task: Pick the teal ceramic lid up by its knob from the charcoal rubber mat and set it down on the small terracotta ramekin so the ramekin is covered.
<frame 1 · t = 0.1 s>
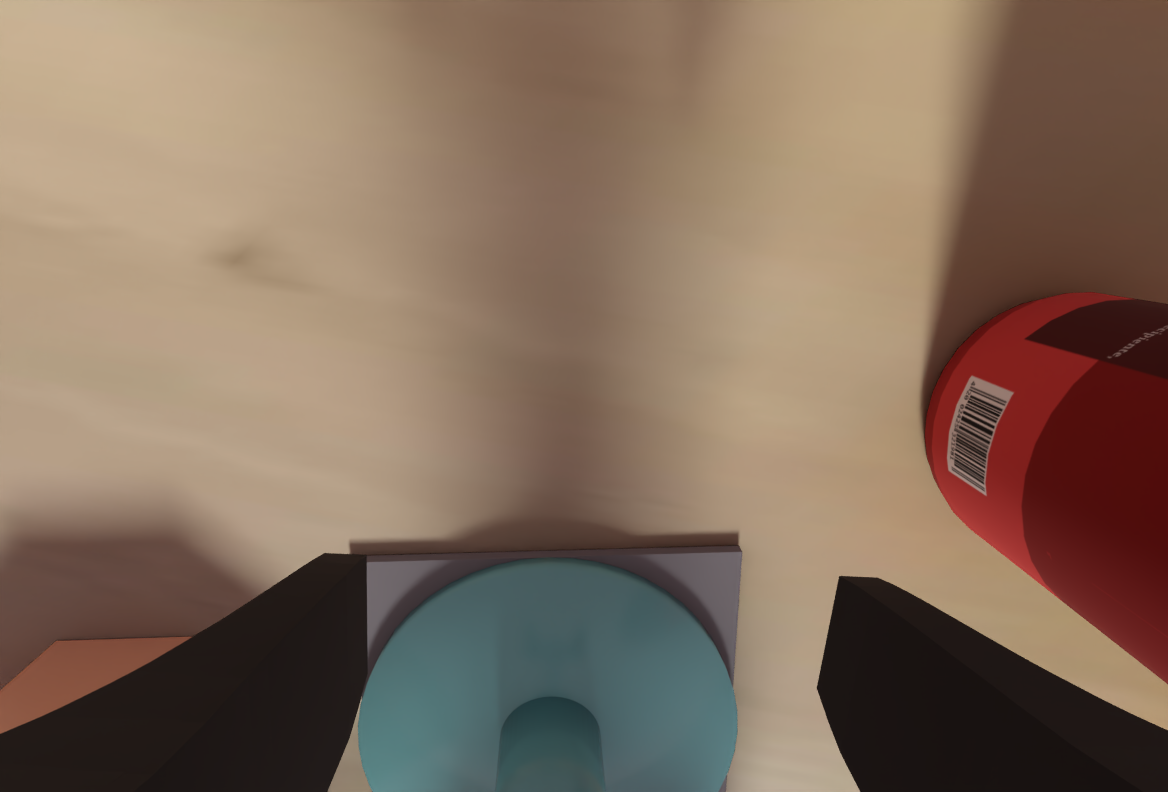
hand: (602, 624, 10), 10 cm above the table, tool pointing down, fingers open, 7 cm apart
lid: (550, 720, 22), resting on mat
ramekin: (160, 777, 23), on the table
mat: (550, 712, 23), on the table
canned food: (1034, 416, 21), on the table
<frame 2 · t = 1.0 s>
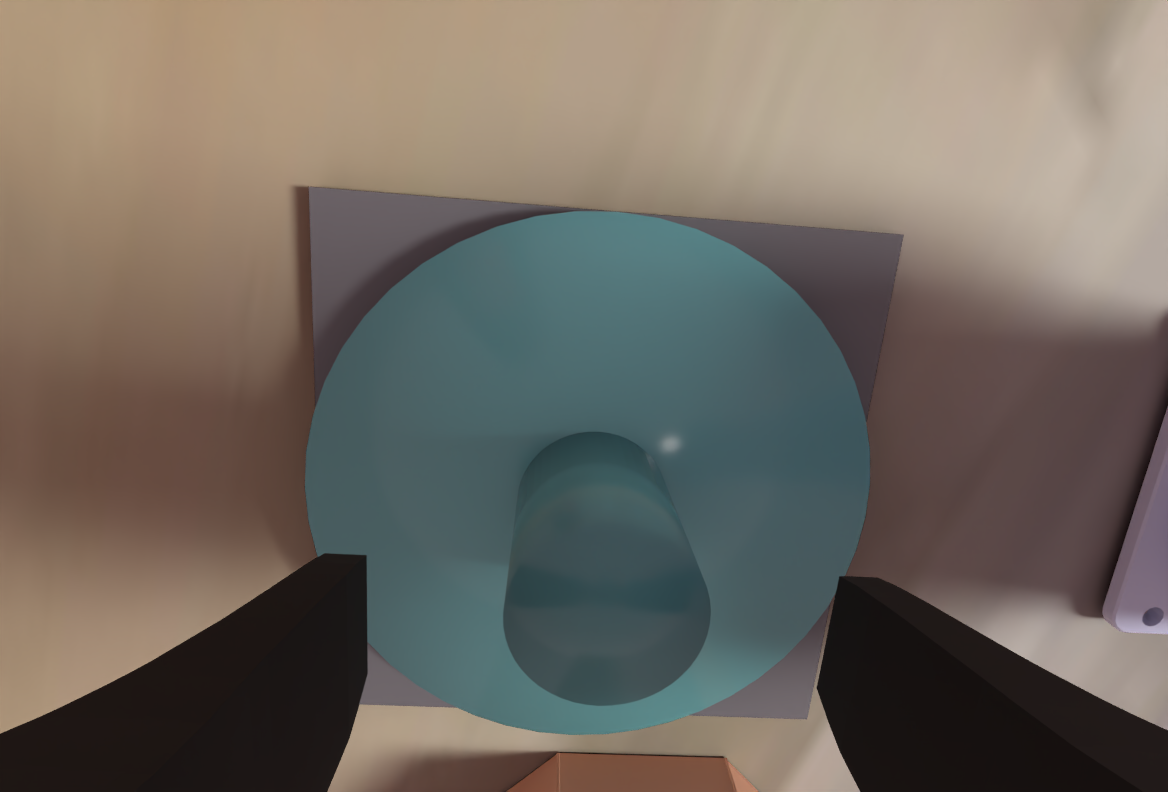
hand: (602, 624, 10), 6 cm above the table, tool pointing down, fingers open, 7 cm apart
lid: (590, 487, 15), resting on mat
mat: (589, 480, 16), on the table
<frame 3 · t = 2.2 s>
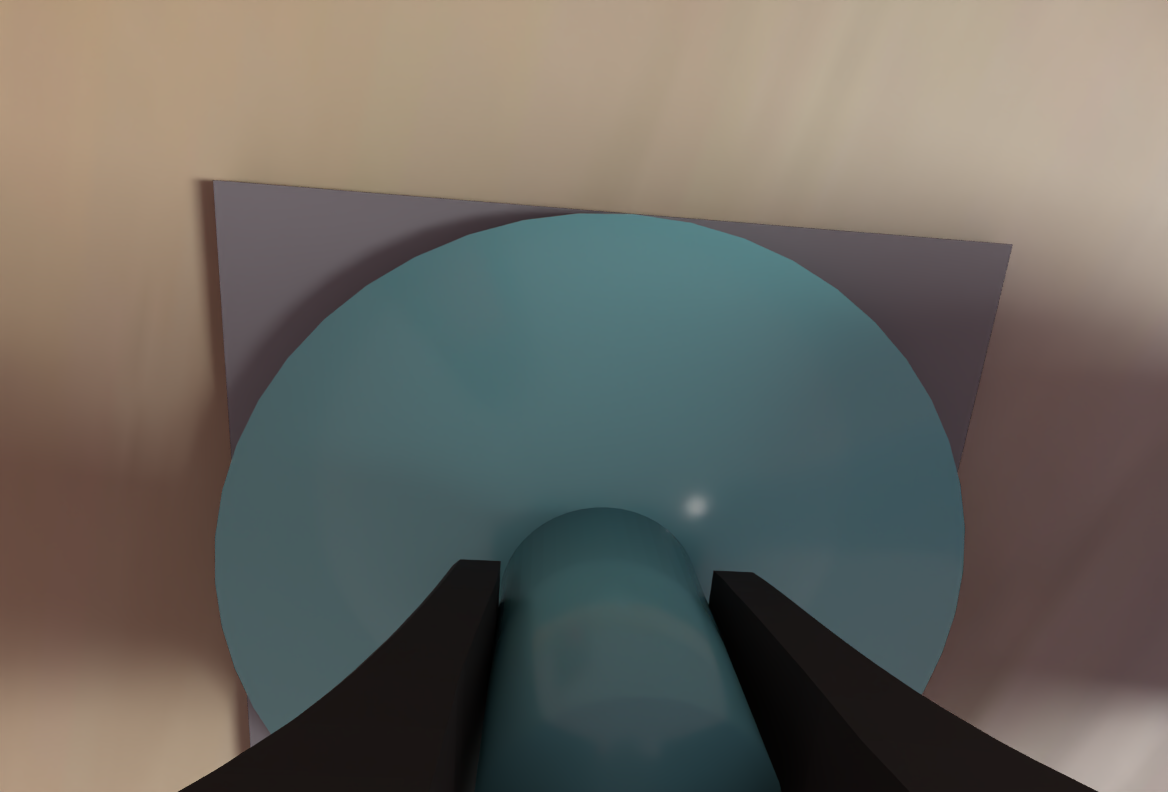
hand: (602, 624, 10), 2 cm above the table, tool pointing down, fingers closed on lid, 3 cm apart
lid: (595, 572, 12), resting on mat, touching gripper
mat: (594, 560, 12), on the table
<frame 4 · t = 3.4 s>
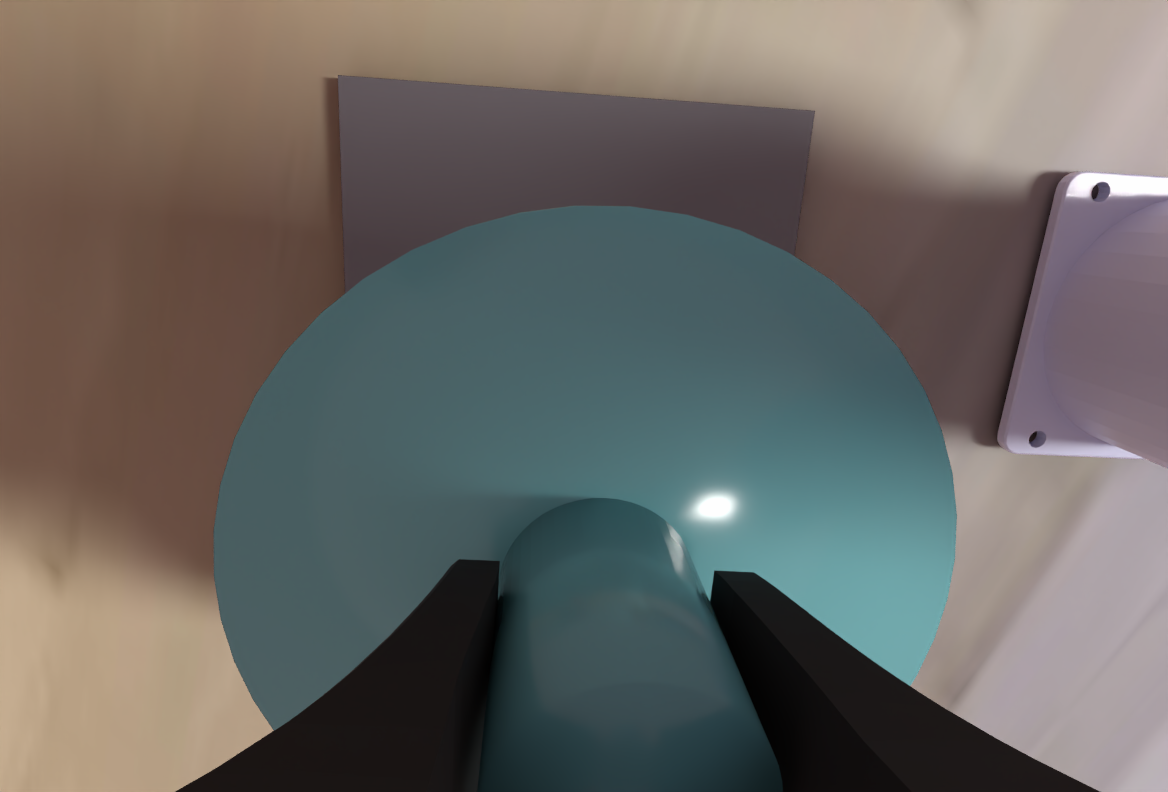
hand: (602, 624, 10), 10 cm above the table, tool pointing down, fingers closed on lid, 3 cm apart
lid: (593, 562, 12), point 8 cm above the table, touching gripper
mat: (568, 327, 19), on the table
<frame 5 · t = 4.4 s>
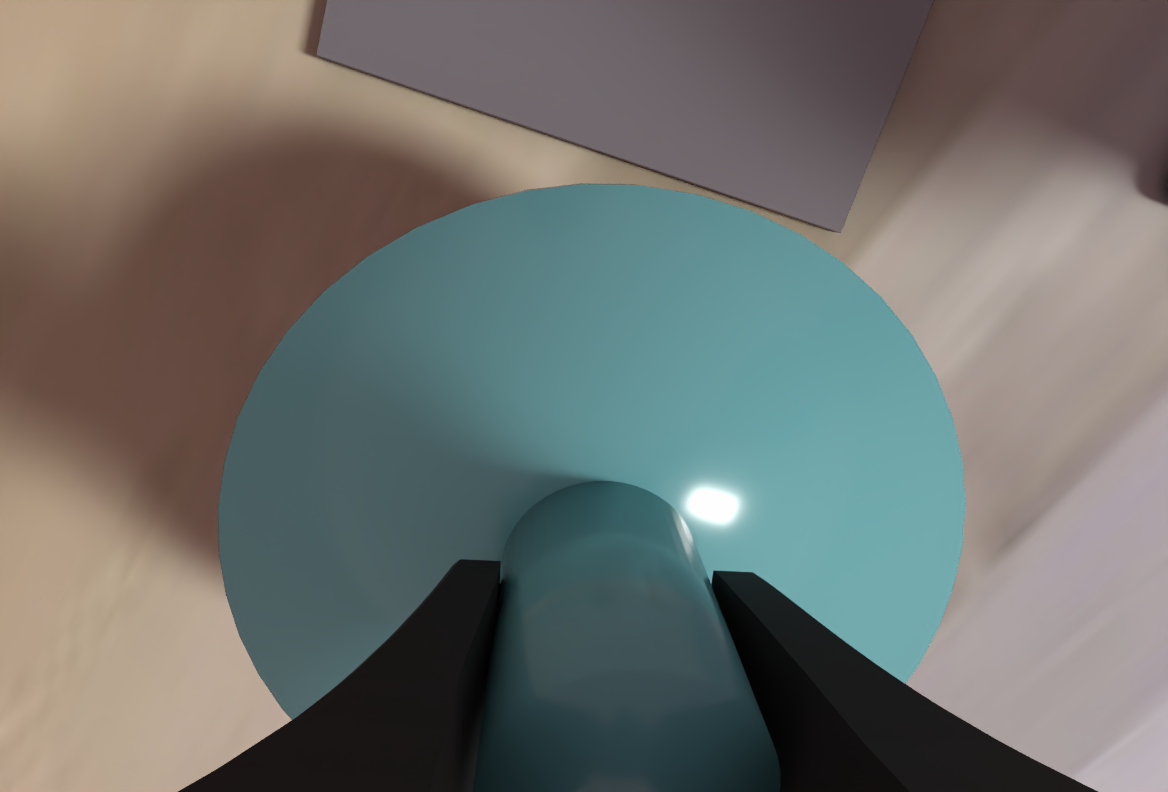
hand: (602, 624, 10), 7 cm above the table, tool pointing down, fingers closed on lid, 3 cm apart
lid: (596, 544, 12), point 5 cm above the table, touching gripper
when the fingers open (7 cm above the table, at t = 4.8 s): lid stays where it is, resting on ramekin.
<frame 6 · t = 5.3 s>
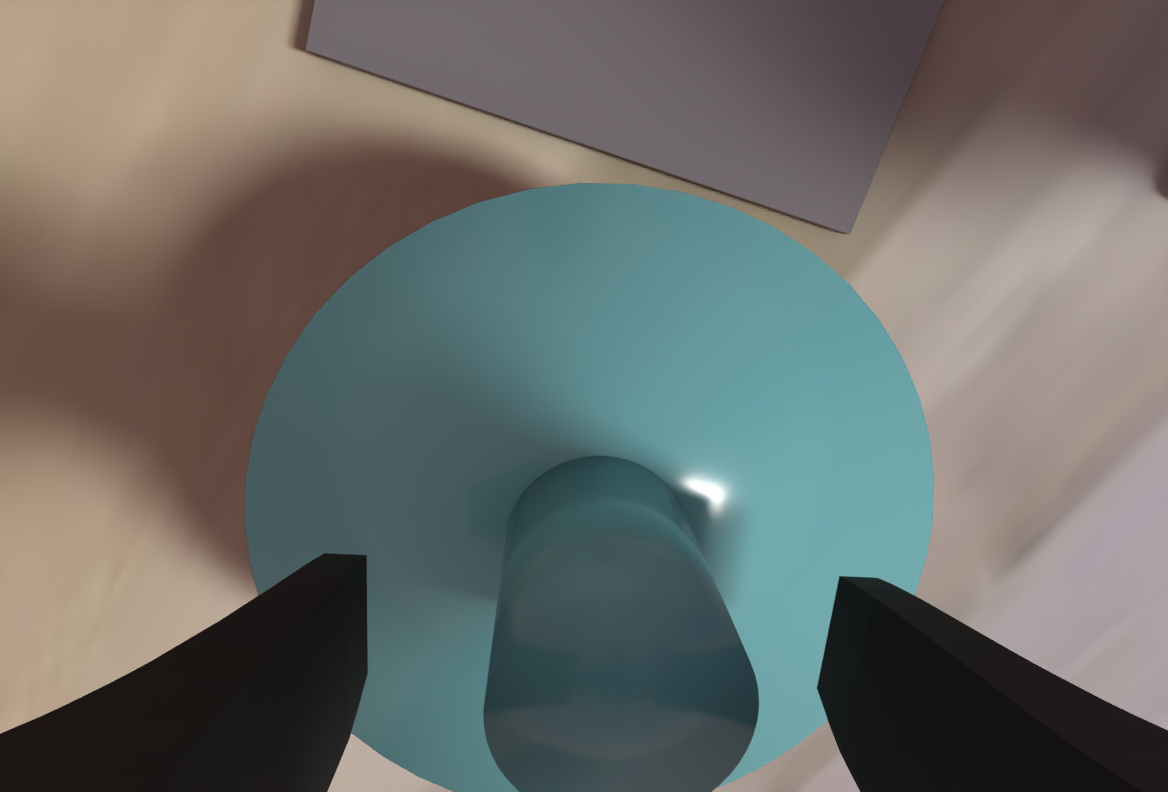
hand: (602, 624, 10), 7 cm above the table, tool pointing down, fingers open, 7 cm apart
lid: (594, 520, 13), point 4 cm above the table, touching ramekin
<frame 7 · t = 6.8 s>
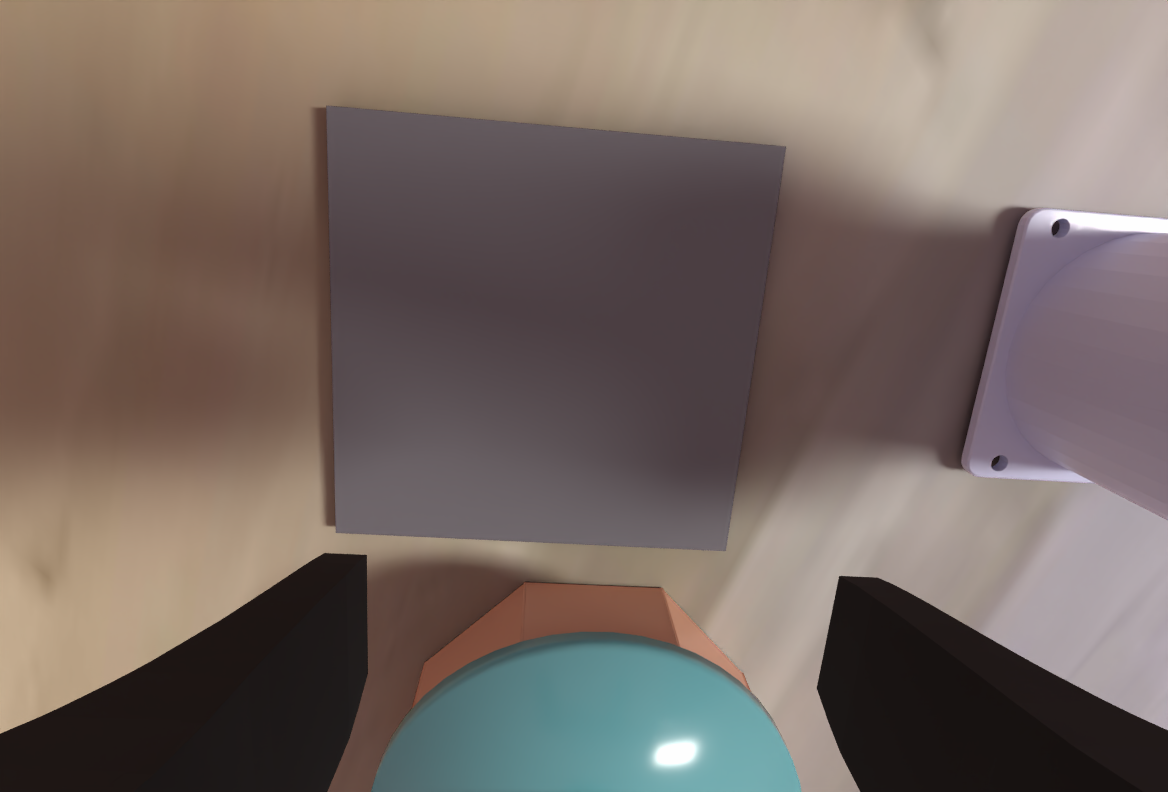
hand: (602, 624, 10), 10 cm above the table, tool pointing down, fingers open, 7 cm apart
ramekin: (581, 723, 23), on the table
mat: (547, 348, 20), on the table
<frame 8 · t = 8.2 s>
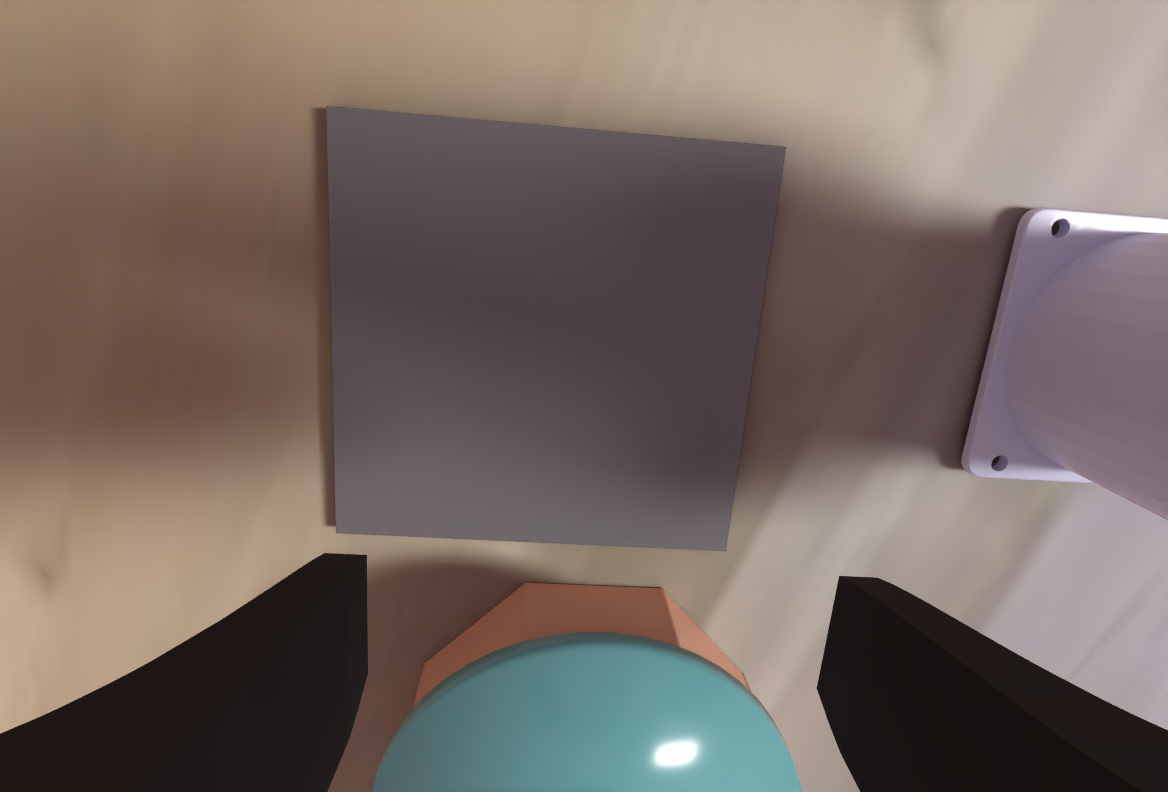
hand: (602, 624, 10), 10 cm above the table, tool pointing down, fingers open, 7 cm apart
ramekin: (581, 723, 23), on the table
mat: (547, 349, 20), on the table
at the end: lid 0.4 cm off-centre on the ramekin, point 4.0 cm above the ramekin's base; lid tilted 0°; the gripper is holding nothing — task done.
